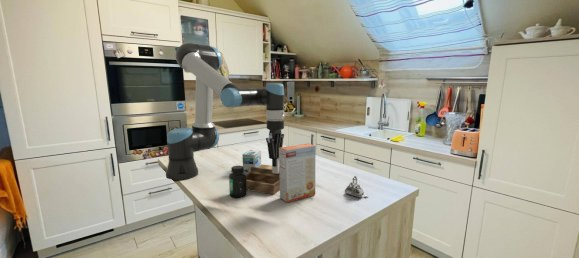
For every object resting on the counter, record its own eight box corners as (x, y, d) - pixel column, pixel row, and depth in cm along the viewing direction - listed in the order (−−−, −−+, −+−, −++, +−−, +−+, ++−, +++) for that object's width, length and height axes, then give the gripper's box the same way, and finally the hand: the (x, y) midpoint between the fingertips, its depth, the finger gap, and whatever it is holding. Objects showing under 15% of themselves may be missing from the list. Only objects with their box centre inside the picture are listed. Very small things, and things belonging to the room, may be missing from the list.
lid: (248, 172, 125) (248, 166, 125) (261, 165, 136) (261, 160, 136) (283, 177, 118) (283, 171, 118) (294, 170, 129) (294, 164, 129)
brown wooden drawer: (237, 188, 118) (237, 179, 117) (252, 179, 129) (251, 171, 128) (274, 194, 111) (274, 185, 110) (286, 185, 121) (286, 176, 121)
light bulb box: (255, 175, 134) (254, 154, 133) (242, 175, 136) (241, 154, 134) (261, 169, 145) (261, 150, 143) (249, 168, 146) (249, 149, 144)
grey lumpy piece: (373, 192, 113) (374, 175, 112) (362, 198, 107) (363, 180, 106) (355, 187, 120) (355, 170, 118) (343, 192, 114) (344, 175, 112)
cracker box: (307, 190, 115) (307, 142, 112) (315, 195, 110) (316, 145, 107) (278, 197, 107) (278, 146, 104) (286, 203, 102) (286, 149, 99)
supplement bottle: (230, 199, 106) (229, 170, 104) (229, 193, 112) (228, 165, 110) (247, 197, 108) (247, 168, 106) (245, 191, 114) (245, 164, 112)
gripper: (276, 122, 108) (276, 178, 111) (289, 118, 119) (289, 169, 123) (259, 121, 111) (260, 176, 114) (274, 117, 122) (274, 167, 126)
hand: (275, 172), depth 119 cm, fingers closed
